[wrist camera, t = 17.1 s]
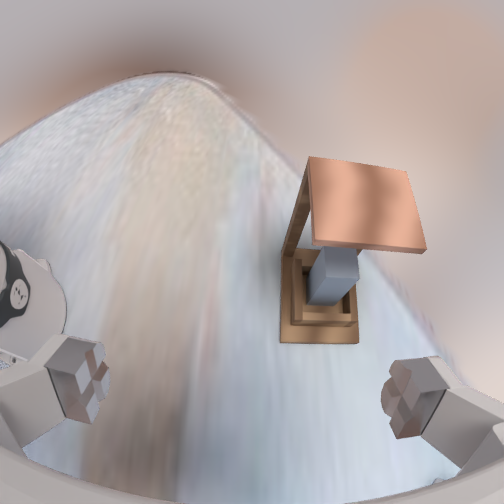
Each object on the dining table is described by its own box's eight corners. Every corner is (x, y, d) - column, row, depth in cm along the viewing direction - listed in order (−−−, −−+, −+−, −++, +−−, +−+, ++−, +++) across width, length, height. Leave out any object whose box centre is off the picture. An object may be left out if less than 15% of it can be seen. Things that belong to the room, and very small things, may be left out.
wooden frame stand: (280, 342, 41) (317, 290, 24) (281, 250, 48) (308, 156, 30) (356, 343, 42) (435, 294, 24) (350, 255, 48) (406, 171, 30)
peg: (306, 305, 43) (326, 276, 34) (305, 278, 45) (324, 244, 36) (334, 306, 43) (359, 278, 34) (332, 280, 45) (356, 247, 36)
